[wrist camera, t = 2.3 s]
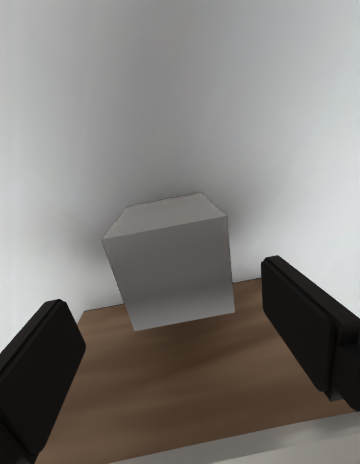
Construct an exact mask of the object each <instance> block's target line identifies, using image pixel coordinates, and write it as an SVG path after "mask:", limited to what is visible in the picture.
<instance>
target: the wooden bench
mask: <svg viewBox="0 0 360 464" xmlns="http://www.w3.org/2000/svg"><path fill="white" fill-rule="evenodd" d="M232 284H233V296H234V308H235V312H234V313H228V314H223V315H218V316H213V317H207V318H202V319H197V320H192V321H186V322H181V323H176V324H170V325H165V326H160V327H155V328H149V329H144V330H139V331H134V329H133V326H132V323H131V320H130V318H129V315H128V312H127V309H126V307H125V304H121V305H116V306H111V307H106V308H100V309H95V310H90V311H85V312H84V313H83V315H82V316H81V318H80V320H79V322H78V324H77V326H78V328H79V330H80V332H81V335H82V337H83V339H84V341H85V343H86V350H85V353H84V355H83V358H82V360H81V363H80V365H79V367H78V370H77V372H76V374H75V377H74V379H73V382H72V384H71V386H70V389H69V391H68V393H67V396H66V398H65V401H64V403H63V405H62V408H61V410H60V412H59V415H58V417H57V419H56V422H55V424H54V427H53V429H52V431H51V434H50V436H49V438H48V441H47V443H46V445H45V447H44V449H43V450H42V451H41V452H39V455H38V457H37V459H36V462H35V464H109V463H113V462H118V461H122V460H127V459H132V458H136V457H141V456H145V455H150V454H154V453H159V452H164V451H168V450H173V449H177V448H182V447H186V446H191V445H196V444H200V443H205V442H210V441H214V440H219V439H224V438H228V437H233V436H238V435H243V434H247V433H252V432H257V431H261V430H266V429H271V428H276V427H280V426H285V425H290V424H294V423H299V422H305V421H310V420H315V419H321V418H326V417H331V416H337V415H342V414H347V413H353V410H352V408H350V406H349V405H348V404H347V403H346V401H345V400H344V399H342V400H338V401H333V402H330V401H329V399H328V398H327V396H326V395H325V393H324V392H323V391H322V392H320V391H318V390H317V389H316V387H315V386H314V385H313V383H312V382H311V380H310V379H309V377H308V376H307V374H306V373H305V371H304V370H303V369H302V367H301V366H300V364H299V363H298V361H297V360H296V358H295V357H294V355H293V354H292V353H291V351H290V350H289V348H288V347H287V345H286V344H285V342H284V341H283V339H282V338H281V337H280V335H279V334H278V332H277V331H276V329H275V328H274V326H273V325H272V323H271V322H270V321H269V319H268V318H267V316H266V315H265V313H264V311H263V306H262V278H258V279H253V280H248V281H242V282H237V283H232Z"/></svg>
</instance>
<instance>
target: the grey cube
mask: <svg viewBox="0 0 360 464" xmlns="http://www.w3.org/2000/svg"><path fill="white" fill-rule="evenodd" d="M101 241H102V244H103V246H104V249H105V252H106V255H107V257H108V260H109V263H110V266H111V268H112V271H113V274H114V277H115V279H116V282H117V285H118V287H119V290H120V293H121V296H122V298H123V301H124V304H125V307H126V309H127V312H128V315H129V318H130V320H131V323H132V326H133V329H134V331H139V330H144V329H149V328H155V327H160V326H165V325H170V324H176V323H181V322H186V321H192V320H197V319H202V318H207V317H213V316H218V315H223V314H228V313H234V312H235V308H234V296H233V284H232V272H231V260H230V248H229V236H228V224H227V216H226V215H225V214H224V213H223V212H222V211H221V210H220V209H219V208H218V207H217V206H216V205H215V204H214V203H213V202H212V201H211V200H209V199H208V198H207V197H206V196H205V195H204V194H203V193H196V194H191V195H186V196H180V197H175V198H170V199H165V200H159V201H154V202H149V203H143V204H138V205H133V206H127V207H126V209H125V210H124V211H123V213H122V214H121V215H120V216H119V218H118V219H117V220H116V221H115V223H114V224H113V225H112V226H111V228H110V229H109V230H108V231H107V233H106V234H105V235H104V236H103V238H102V239H101Z"/></svg>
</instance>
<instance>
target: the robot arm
mask: <svg viewBox="0 0 360 464" xmlns="http://www.w3.org/2000/svg"><path fill="white" fill-rule="evenodd" d="M261 278H262V306H263V311H264V313H265V315H266V316H267V318H268V319H269V321H270V322H271V323H272V325H273V326H274V328H275V329H276V331H277V332H278V334H279V335H280V337H281V338H282V339H283V341H284V342H285V344H286V345H287V347H288V348H289V350H290V351H291V353H292V354H293V355H294V357H295V358H296V360H297V361H298V363H299V364H300V366H301V367H302V369H303V370H304V371H305V373H306V374H307V376H308V377H309V379H310V380H311V382H312V383H313V385H314V386H315V387H316V389H317V390H318V391H320V392H322V391H323V392H324V393H325V395H326V396H327V398H328V399H329V401H330V402H333V401H338V400H342V399H344V400H345V401H346V403H347V404H348V405H349V406H350V408H352V410H353V413H347V414H342V415H337V416H331V417H326V418H321V419H315V420H310V421H305V422H299V423H294V424H290V425H285V426H280V427H276V428H271V429H266V430H261V431H257V432H252V433H247V434H243V435H238V436H233V437H228V438H224V439H219V440H214V441H210V442H205V443H200V444H196V445H191V446H186V447H182V448H177V449H173V450H168V451H164V452H159V453H154V454H150V455H145V456H141V457H136V458H132V459H127V460H122V461H118V462H113V463H109V464H360V318H358V317H357V316H356V315H355V314H353V313H352V312H351V311H349V310H348V309H347V308H345V307H344V306H343V305H342V304H340V303H339V302H338V301H336V300H335V299H334V298H333V297H331V296H330V295H329V294H327V293H326V292H325V291H324V290H322V289H321V288H320V287H318V286H317V285H316V284H315V283H313V282H312V281H311V280H309V279H308V278H307V277H306V276H304V275H303V274H302V273H300V272H299V271H298V270H297V269H295V268H294V267H293V266H291V265H290V264H289V263H288V262H286V261H285V260H284V259H282V258H281V257H280V256H278V255H276V256H271V257H266V258H265V259H264V261H262V262H261ZM85 350H86V343H85V341H84V339H83V337H82V335H81V332H80V330H79V328H78V326H77V324H76V322H75V320H74V318H73V316H72V313H71V311H70V309H69V307H68V305H67V303H66V302H64V301H62V300H61V299H57V300H52V301H47V302H45V303H44V304H43V305H42V306H41V307H40V308H39V310H38V311H37V312H36V313H35V314H34V315H33V316H32V318H31V319H30V320H29V321H28V322H27V323H26V324H25V326H24V327H23V328H22V329H21V330H20V331H19V333H18V334H17V335H16V336H15V337H14V338H13V339H12V341H11V342H10V343H9V344H8V345H7V346H6V347H5V349H4V350H3V351H2V352H1V353H0V464H35V462H36V459H37V457H38V455H39V452H41V451H42V450H43V449H44V447H45V445H46V443H47V441H48V438H49V436H50V434H51V431H52V429H53V427H54V424H55V422H56V419H57V417H58V415H59V412H60V410H61V408H62V405H63V403H64V401H65V398H66V396H67V393H68V391H69V389H70V386H71V384H72V382H73V379H74V377H75V374H76V372H77V370H78V367H79V365H80V363H81V360H82V358H83V355H84V353H85Z"/></svg>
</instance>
